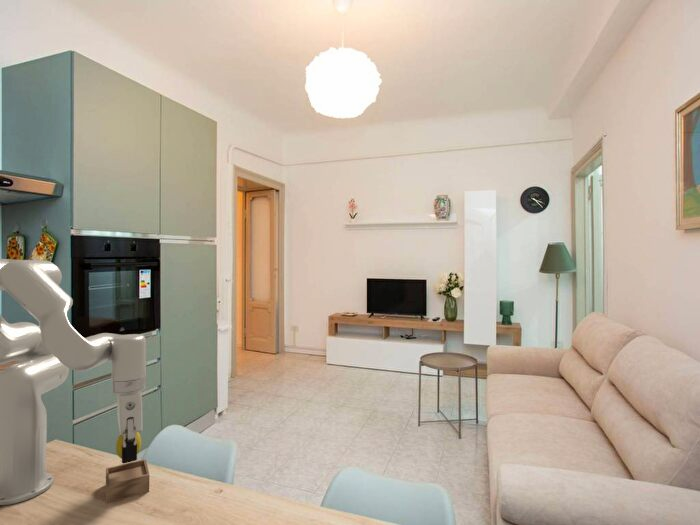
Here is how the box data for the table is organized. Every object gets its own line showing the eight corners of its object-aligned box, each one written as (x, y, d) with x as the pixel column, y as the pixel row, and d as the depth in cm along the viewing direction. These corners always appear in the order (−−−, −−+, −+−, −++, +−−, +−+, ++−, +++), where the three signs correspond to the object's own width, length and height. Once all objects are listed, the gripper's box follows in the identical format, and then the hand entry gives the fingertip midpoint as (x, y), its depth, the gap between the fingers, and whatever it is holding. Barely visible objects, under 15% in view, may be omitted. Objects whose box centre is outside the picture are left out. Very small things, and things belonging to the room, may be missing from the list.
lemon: (129, 467, 94) (130, 434, 94) (110, 465, 95) (110, 432, 95) (146, 456, 99) (146, 425, 99) (127, 454, 101) (127, 423, 101)
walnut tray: (106, 503, 91) (106, 485, 91) (105, 484, 99) (105, 468, 99) (149, 491, 96) (149, 474, 96) (145, 474, 104) (145, 458, 104)
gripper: (149, 391, 92) (149, 467, 92) (142, 373, 107) (141, 439, 107) (112, 397, 88) (112, 476, 88) (110, 378, 102) (109, 446, 102)
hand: (128, 455), depth 97 cm, fingers closed on lemon, 5 cm apart
